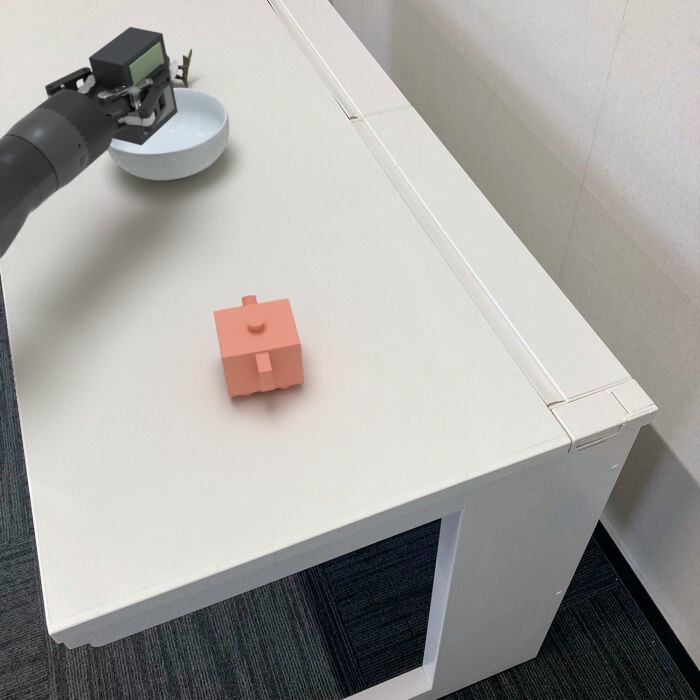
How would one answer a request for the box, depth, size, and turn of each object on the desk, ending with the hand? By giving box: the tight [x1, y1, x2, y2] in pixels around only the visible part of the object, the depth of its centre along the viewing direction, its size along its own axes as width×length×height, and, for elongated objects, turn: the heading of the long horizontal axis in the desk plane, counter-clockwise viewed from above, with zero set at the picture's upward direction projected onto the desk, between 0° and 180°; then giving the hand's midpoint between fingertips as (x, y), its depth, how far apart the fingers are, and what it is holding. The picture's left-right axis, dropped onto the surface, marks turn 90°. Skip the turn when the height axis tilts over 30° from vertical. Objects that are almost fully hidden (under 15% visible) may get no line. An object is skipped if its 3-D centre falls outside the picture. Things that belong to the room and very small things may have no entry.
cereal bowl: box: [106, 87, 230, 181], centre depth 106 cm, size 17×17×7 cm
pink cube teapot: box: [213, 294, 305, 398], centre depth 80 cm, size 8×12×8 cm, turn 14°
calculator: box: [88, 26, 178, 145], centre depth 90 cm, size 5×8×10 cm, turn 157°
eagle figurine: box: [167, 48, 193, 88], centre depth 121 cm, size 8×7×9 cm
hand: (147, 68), depth 91 cm, fingers closed on calculator, 4 cm apart
